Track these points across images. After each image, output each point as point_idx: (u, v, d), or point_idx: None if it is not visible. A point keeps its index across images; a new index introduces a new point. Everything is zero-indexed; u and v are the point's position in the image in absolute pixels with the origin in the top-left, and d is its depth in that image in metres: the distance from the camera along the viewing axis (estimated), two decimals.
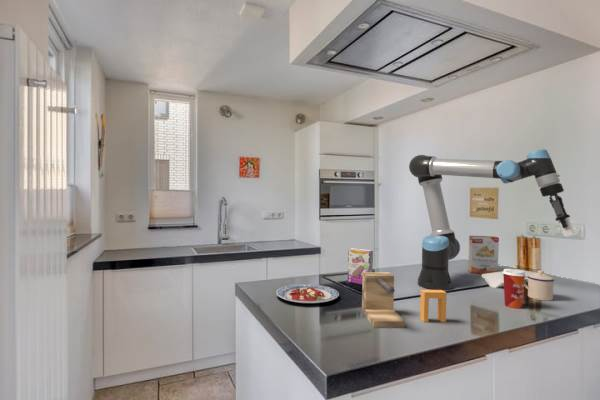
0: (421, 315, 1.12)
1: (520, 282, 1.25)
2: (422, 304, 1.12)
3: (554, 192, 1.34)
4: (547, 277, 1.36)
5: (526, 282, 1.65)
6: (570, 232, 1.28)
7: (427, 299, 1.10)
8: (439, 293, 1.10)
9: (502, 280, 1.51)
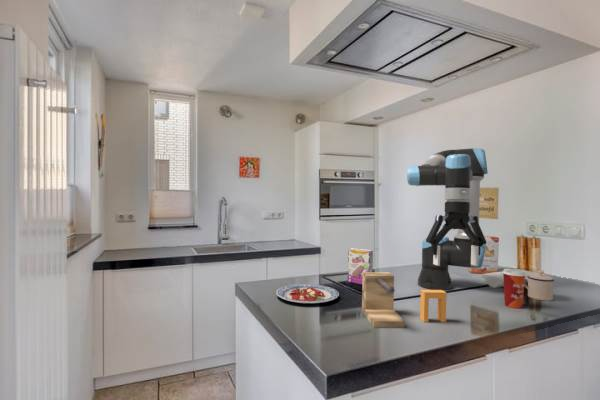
0: (421, 315, 1.12)
1: (520, 282, 1.25)
2: (422, 304, 1.12)
3: (447, 211, 1.08)
4: (547, 277, 1.36)
5: (526, 282, 1.65)
6: (436, 261, 1.07)
7: (427, 299, 1.10)
8: (439, 293, 1.10)
9: (502, 280, 1.52)
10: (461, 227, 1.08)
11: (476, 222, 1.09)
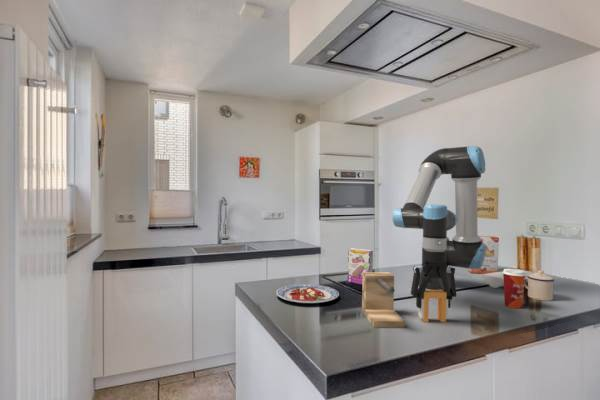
0: None
1: (520, 282, 1.25)
2: None
3: (424, 261, 1.10)
4: (547, 277, 1.36)
5: None
6: (421, 314, 1.10)
7: (427, 299, 1.10)
8: (439, 293, 1.10)
9: (503, 280, 1.51)
10: (438, 276, 1.10)
11: (452, 274, 1.10)
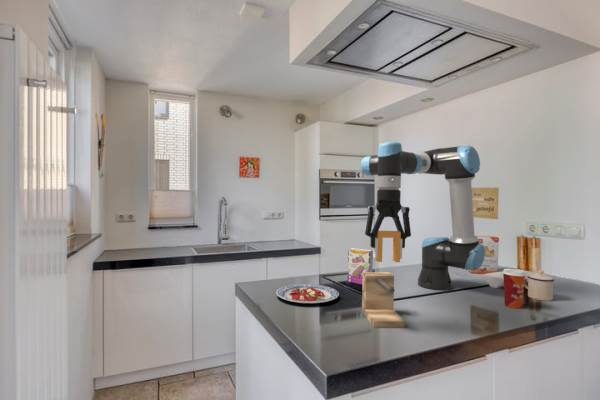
0: None
1: (520, 282, 1.25)
2: None
3: (378, 200, 1.08)
4: (547, 277, 1.36)
5: None
6: (374, 254, 1.08)
7: (381, 238, 1.08)
8: (393, 232, 1.08)
9: (503, 280, 1.51)
10: (392, 215, 1.08)
11: (406, 213, 1.08)
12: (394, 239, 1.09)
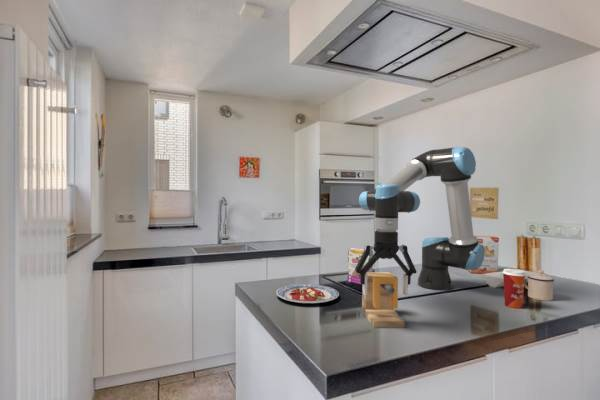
0: (373, 301, 1.10)
1: (520, 282, 1.25)
2: (373, 290, 1.10)
3: (375, 241, 1.09)
4: (547, 277, 1.36)
5: (526, 282, 1.65)
6: (364, 291, 1.08)
7: (378, 285, 1.08)
8: (390, 279, 1.08)
9: (502, 280, 1.52)
10: (389, 257, 1.08)
11: (405, 252, 1.09)
12: (391, 285, 1.10)
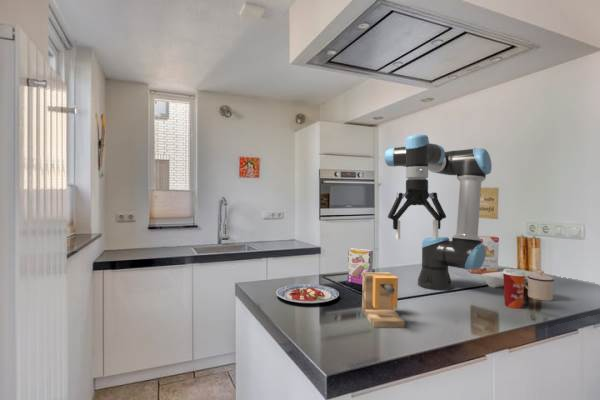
0: (373, 301, 1.10)
1: (520, 282, 1.25)
2: (373, 290, 1.10)
3: (407, 189, 1.16)
4: (547, 277, 1.36)
5: (527, 282, 1.65)
6: (397, 235, 1.16)
7: (378, 285, 1.08)
8: (390, 279, 1.08)
9: (500, 280, 1.52)
10: (420, 203, 1.16)
11: (435, 198, 1.16)
12: (391, 285, 1.10)
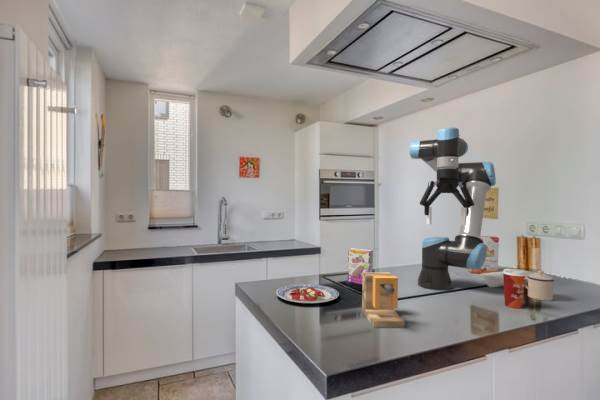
0: (373, 301, 1.10)
1: (520, 282, 1.25)
2: (373, 290, 1.10)
3: (438, 178, 1.25)
4: (547, 277, 1.36)
5: (527, 282, 1.65)
6: (428, 221, 1.24)
7: (378, 285, 1.08)
8: (390, 279, 1.08)
9: (499, 280, 1.52)
10: (451, 191, 1.25)
11: (464, 187, 1.25)
12: (391, 285, 1.10)
